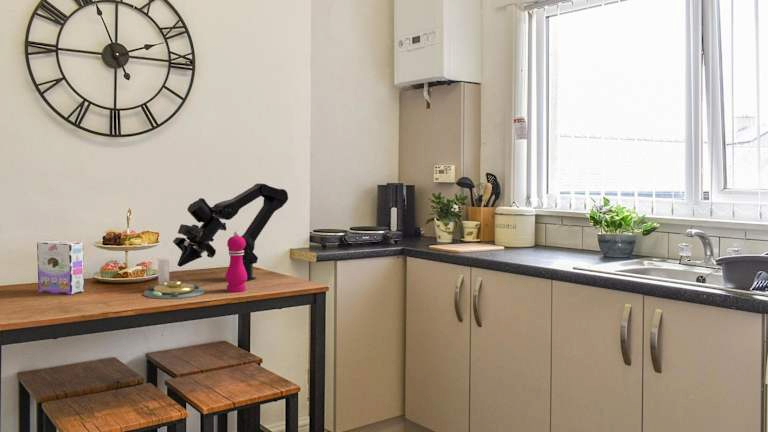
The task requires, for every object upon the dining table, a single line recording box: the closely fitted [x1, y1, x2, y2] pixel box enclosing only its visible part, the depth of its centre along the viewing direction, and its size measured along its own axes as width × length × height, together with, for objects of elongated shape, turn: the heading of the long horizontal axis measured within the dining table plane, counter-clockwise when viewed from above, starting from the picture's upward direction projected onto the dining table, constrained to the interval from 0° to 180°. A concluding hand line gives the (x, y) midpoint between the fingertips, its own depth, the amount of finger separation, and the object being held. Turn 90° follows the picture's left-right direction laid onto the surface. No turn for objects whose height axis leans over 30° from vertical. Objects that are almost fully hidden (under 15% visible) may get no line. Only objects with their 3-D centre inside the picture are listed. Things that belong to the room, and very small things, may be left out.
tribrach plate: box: [143, 284, 205, 300], centre depth 218 cm, size 19×19×2 cm
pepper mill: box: [224, 230, 247, 293], centre depth 224 cm, size 7×7×20 cm
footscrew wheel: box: [154, 258, 195, 294], centre depth 218 cm, size 15×13×9 cm
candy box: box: [36, 240, 85, 295], centre depth 216 cm, size 14×6×16 cm, turn 71°
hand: (178, 265), depth 226 cm, fingers closed
